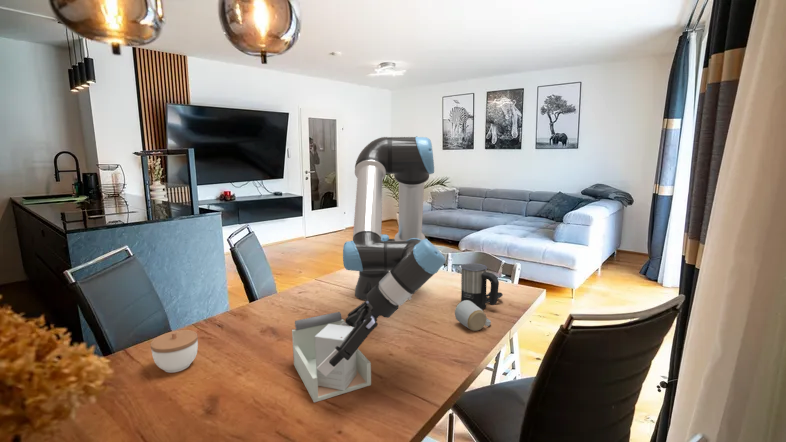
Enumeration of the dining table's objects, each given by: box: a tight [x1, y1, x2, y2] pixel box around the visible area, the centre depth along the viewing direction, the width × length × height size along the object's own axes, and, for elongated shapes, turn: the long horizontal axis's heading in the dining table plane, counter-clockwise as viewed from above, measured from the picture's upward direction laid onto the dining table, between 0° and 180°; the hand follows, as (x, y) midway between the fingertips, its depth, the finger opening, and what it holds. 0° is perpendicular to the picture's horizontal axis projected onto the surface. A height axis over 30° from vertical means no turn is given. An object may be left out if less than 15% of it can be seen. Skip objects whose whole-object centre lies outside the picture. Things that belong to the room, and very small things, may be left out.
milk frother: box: [460, 263, 503, 310], centre depth 142 cm, size 14×16×15 cm
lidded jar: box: [149, 329, 199, 374], centre depth 101 cm, size 11×11×9 cm
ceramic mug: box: [454, 300, 492, 332], centre depth 124 cm, size 11×8×8 cm
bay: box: [291, 311, 372, 403], centre depth 97 cm, size 19×14×12 cm
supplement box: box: [315, 324, 357, 391], centre depth 93 cm, size 7×7×13 cm
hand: (326, 356), depth 93 cm, fingers open, 13 cm apart
